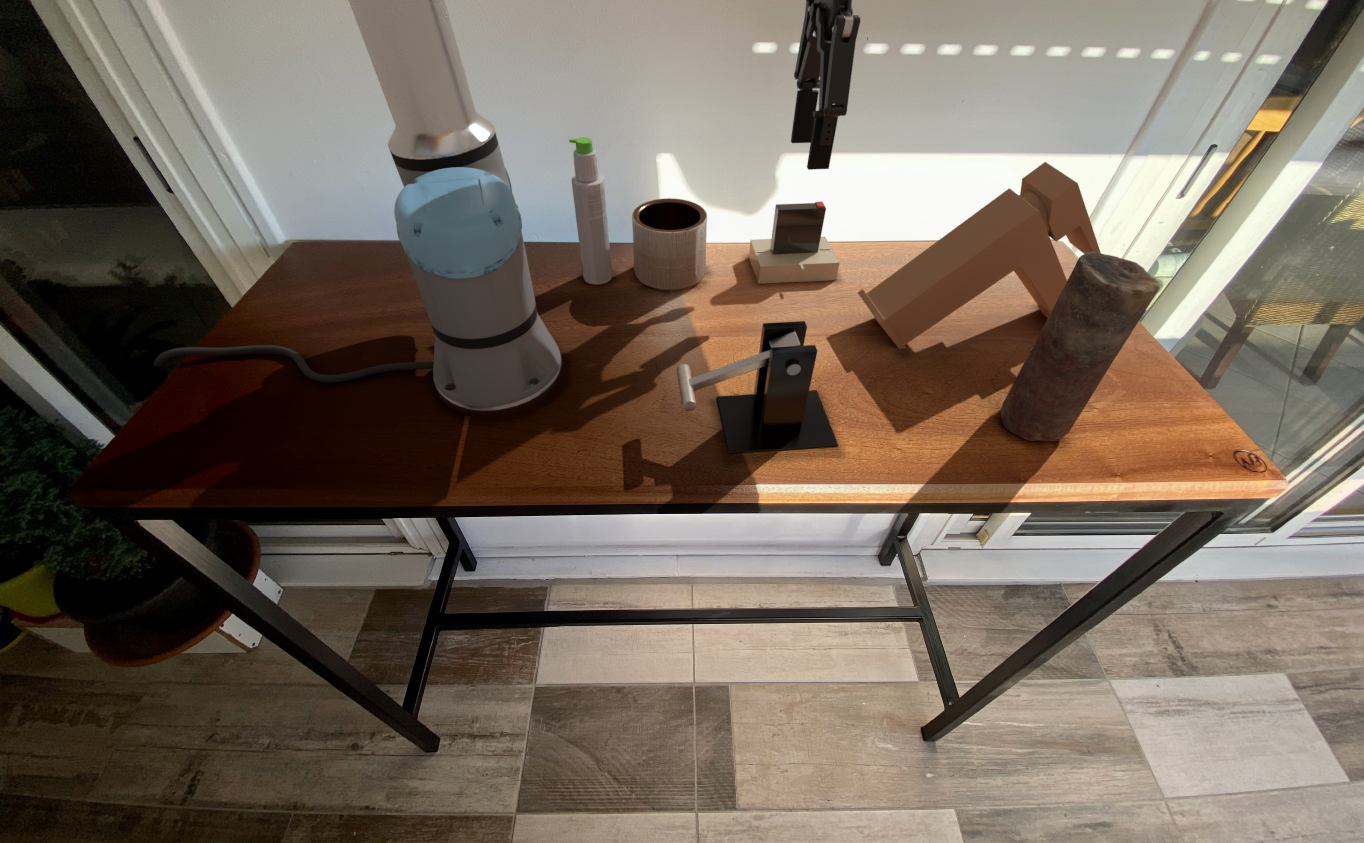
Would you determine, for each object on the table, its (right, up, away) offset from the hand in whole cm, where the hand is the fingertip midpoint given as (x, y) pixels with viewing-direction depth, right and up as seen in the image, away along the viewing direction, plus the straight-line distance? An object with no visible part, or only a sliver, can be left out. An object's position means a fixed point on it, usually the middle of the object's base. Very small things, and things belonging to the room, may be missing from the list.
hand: (808, 154), depth 81 cm
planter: (-19, -14, +11) cm, 26 cm away
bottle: (-30, -14, +10) cm, 35 cm away
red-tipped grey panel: (0, -10, +10) cm, 14 cm away
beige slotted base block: (0, -12, +12) cm, 17 cm away
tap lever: (-11, -31, -18) cm, 38 cm away
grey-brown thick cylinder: (+23, -36, -11) cm, 45 cm away
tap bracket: (-7, -37, -12) cm, 39 cm away
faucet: (+22, -24, +1) cm, 32 cm away
